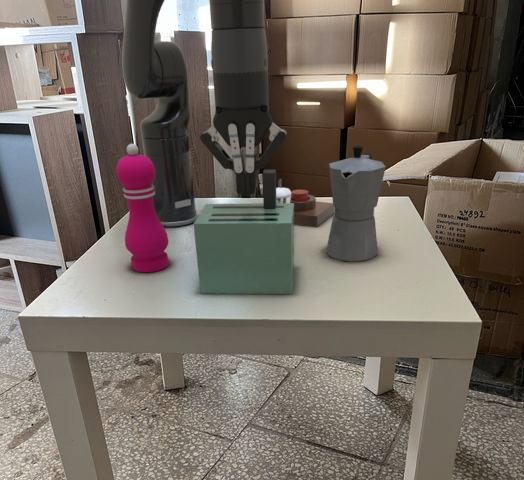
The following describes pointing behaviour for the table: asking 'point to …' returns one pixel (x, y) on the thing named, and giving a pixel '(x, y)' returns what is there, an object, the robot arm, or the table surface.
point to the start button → (299, 195)
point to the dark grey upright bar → (269, 188)
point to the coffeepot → (354, 206)
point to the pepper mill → (142, 213)
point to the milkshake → (283, 194)
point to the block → (311, 211)
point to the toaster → (245, 248)
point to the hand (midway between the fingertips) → (246, 196)
